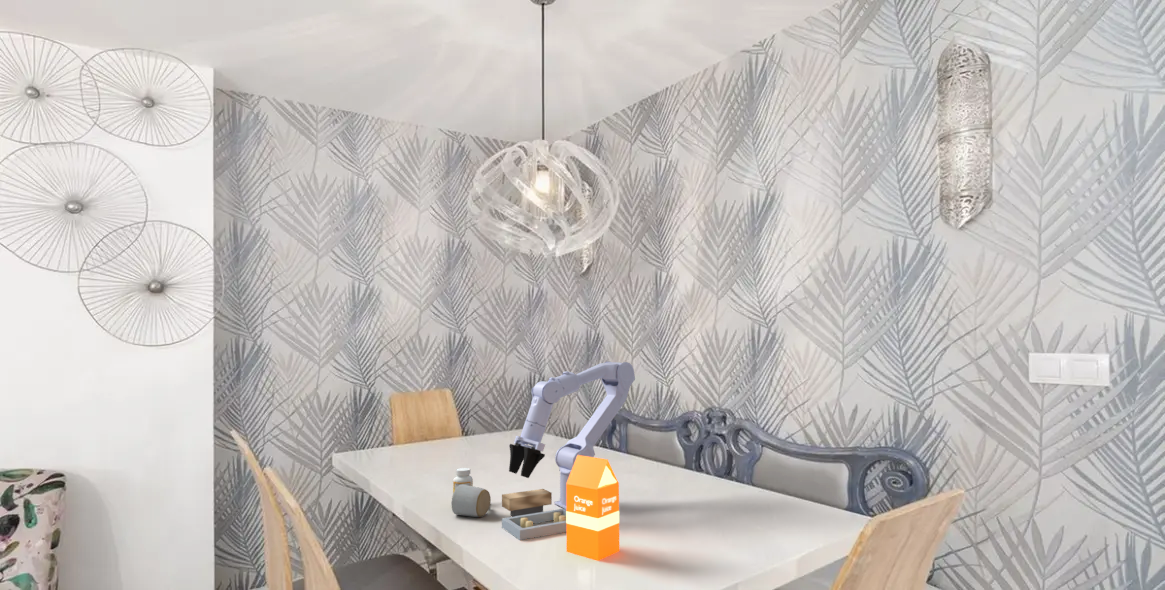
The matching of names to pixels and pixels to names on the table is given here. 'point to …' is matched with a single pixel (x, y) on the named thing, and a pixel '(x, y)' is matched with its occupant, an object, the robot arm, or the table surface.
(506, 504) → the tan rectangular block
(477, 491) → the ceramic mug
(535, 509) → the gray rectangular block
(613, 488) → the orange juice
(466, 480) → the supplement bottle
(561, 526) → the peg frame
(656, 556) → the table surface
